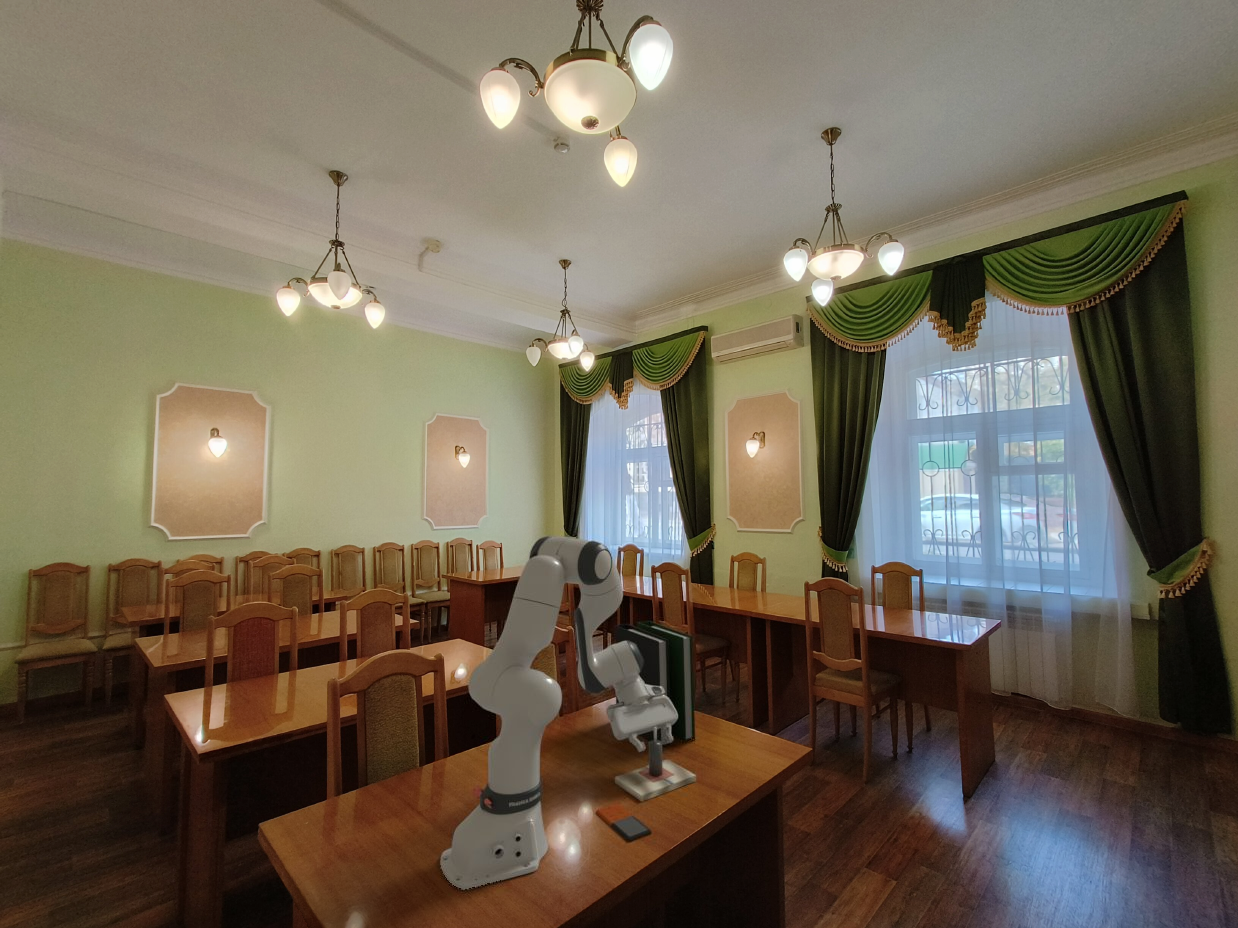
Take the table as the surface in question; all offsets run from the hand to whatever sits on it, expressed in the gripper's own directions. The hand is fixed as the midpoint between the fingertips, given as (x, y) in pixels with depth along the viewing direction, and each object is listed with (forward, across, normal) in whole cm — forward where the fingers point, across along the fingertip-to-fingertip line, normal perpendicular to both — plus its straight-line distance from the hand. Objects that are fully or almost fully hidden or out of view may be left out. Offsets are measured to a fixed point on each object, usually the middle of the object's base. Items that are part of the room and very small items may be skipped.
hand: (656, 745), depth 156 cm
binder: (-13, +20, +26) cm, 35 cm away
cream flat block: (+7, -1, +6) cm, 9 cm away
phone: (+15, -19, -1) cm, 24 cm away
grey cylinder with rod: (+5, 0, +6) cm, 7 cm away
